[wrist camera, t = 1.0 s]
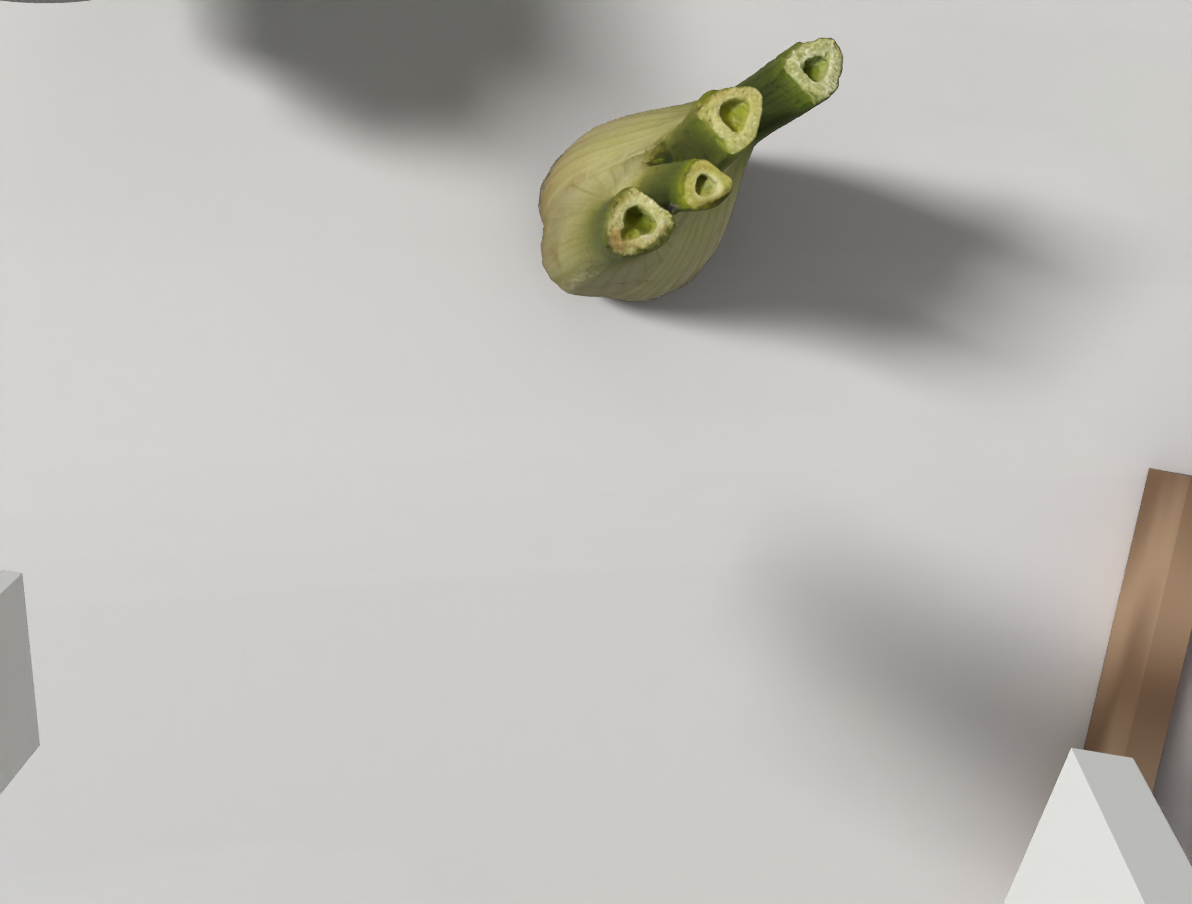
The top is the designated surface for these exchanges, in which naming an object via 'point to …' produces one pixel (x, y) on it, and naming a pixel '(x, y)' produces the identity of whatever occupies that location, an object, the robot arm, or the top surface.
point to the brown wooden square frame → (1148, 629)
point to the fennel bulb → (668, 180)
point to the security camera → (45, 1)
